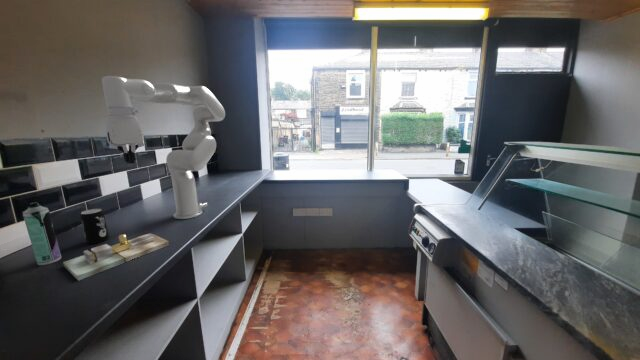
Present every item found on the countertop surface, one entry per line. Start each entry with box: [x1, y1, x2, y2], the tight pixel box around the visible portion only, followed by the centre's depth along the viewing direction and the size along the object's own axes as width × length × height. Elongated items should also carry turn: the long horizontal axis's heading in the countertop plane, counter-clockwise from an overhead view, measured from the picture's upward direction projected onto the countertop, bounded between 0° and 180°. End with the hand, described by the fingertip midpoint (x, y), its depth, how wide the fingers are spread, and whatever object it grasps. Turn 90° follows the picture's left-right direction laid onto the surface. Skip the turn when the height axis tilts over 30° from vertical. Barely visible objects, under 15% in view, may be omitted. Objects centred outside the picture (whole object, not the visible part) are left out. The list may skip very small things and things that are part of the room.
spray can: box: [22, 201, 62, 266], centre depth 80 cm, size 6×6×20 cm
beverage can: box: [80, 208, 110, 245], centre depth 95 cm, size 7×7×12 cm
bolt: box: [91, 233, 131, 261], centre depth 83 cm, size 10×2×5 cm, turn 147°
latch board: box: [62, 232, 170, 282], centre depth 85 cm, size 25×14×5 cm, turn 147°
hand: (130, 163), depth 95 cm, fingers closed
